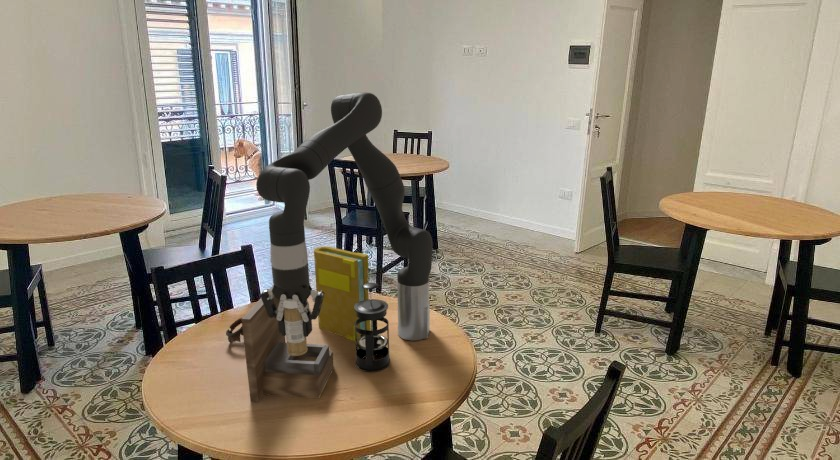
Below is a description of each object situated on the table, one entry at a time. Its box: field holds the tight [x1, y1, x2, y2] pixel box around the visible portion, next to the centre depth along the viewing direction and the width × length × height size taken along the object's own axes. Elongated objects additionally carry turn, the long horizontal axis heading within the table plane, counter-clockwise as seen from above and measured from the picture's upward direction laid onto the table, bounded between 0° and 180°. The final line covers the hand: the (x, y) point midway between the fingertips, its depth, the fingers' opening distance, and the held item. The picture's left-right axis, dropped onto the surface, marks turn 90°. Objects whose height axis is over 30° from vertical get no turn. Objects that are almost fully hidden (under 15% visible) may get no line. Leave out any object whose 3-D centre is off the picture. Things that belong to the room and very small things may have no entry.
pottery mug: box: [225, 316, 244, 343], centre depth 158 cm, size 12×10×8 cm
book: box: [313, 245, 371, 342], centre depth 161 cm, size 17×7×25 cm, turn 58°
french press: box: [354, 282, 391, 373], centre depth 142 cm, size 12×9×23 cm
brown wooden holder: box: [241, 284, 335, 403], centre depth 135 cm, size 16×20×22 cm
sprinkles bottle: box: [283, 298, 308, 356], centre depth 117 cm, size 5×5×14 cm
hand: (295, 334), depth 118 cm, fingers closed on sprinkles bottle, 4 cm apart
